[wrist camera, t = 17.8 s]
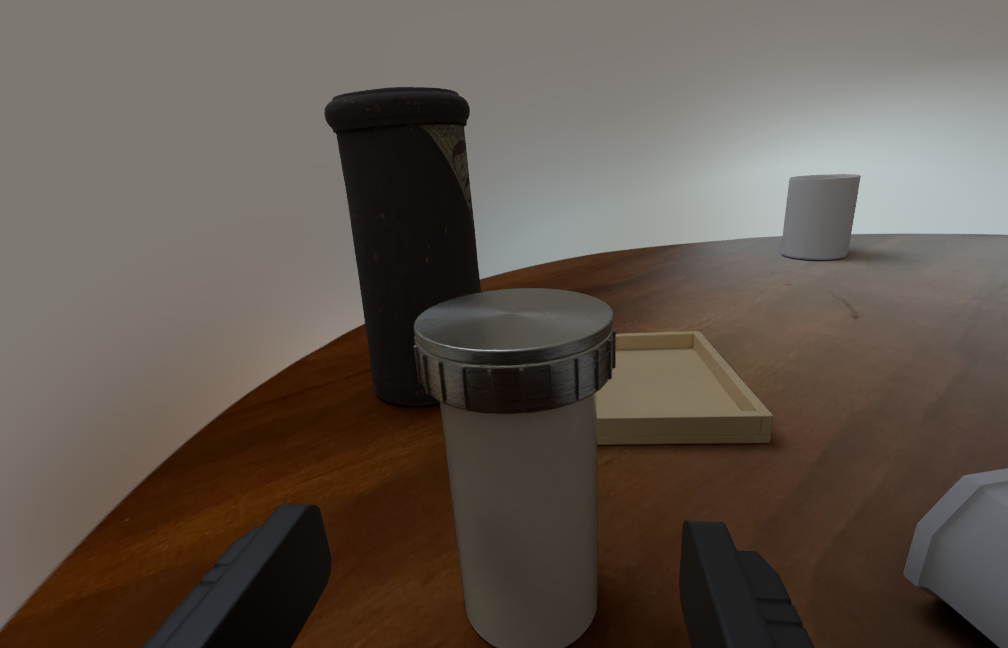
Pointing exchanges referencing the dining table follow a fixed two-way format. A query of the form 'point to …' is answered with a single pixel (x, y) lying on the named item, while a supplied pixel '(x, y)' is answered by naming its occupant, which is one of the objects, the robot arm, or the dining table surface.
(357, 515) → the dining table surface
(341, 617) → the dining table surface
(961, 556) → the tube
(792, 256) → the mug
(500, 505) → the jar
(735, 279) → the dining table surface
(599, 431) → the tray
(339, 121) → the container
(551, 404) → the lid
